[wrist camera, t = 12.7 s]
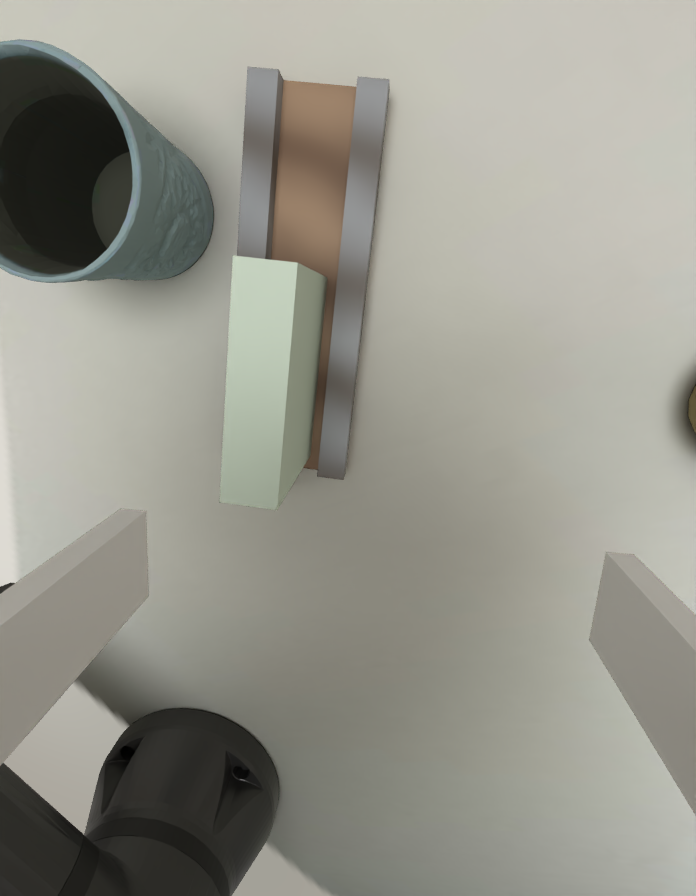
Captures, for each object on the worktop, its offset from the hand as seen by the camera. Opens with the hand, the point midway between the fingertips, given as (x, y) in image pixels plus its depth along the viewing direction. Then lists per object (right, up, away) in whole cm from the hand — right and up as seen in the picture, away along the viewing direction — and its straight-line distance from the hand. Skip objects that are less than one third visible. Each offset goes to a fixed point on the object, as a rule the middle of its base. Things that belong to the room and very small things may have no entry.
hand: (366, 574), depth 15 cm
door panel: (-4, +9, +21) cm, 23 cm away
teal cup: (-14, +19, +21) cm, 32 cm away
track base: (-3, +14, +21) cm, 25 cm away
